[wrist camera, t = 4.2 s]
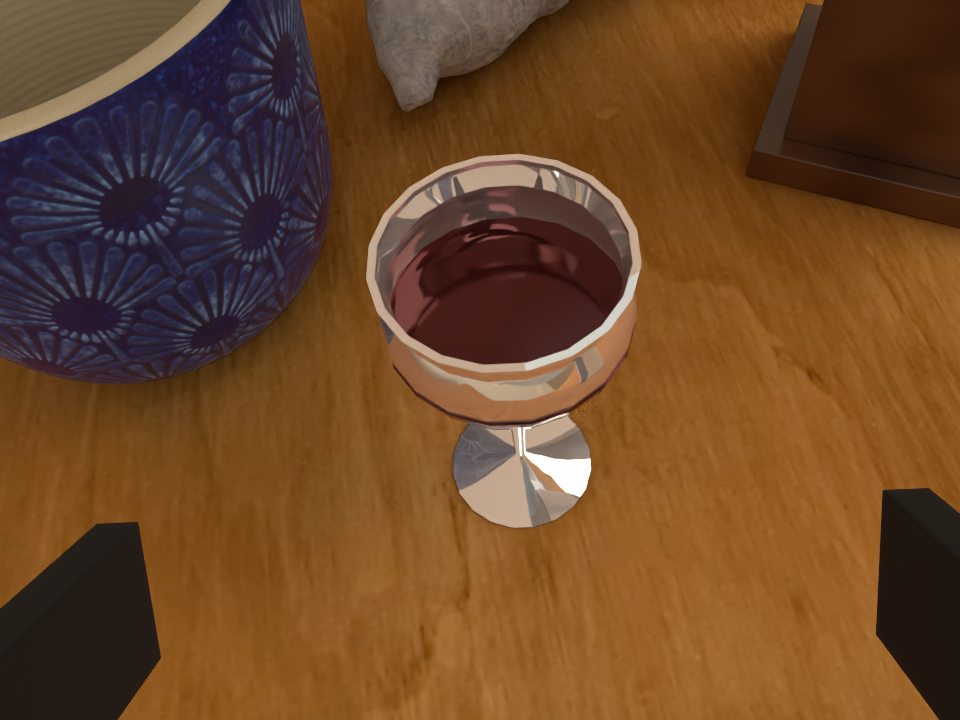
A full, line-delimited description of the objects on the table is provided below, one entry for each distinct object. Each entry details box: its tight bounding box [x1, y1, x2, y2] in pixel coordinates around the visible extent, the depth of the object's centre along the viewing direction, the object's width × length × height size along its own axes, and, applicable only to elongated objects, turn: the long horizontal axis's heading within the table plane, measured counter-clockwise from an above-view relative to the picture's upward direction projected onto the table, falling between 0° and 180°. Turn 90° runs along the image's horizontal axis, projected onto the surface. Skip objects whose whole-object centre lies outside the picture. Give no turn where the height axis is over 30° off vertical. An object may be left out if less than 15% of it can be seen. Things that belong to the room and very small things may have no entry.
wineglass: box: [366, 154, 642, 528], centre depth 26 cm, size 7×7×12 cm
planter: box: [0, 0, 333, 384], centre depth 30 cm, size 17×17×15 cm
